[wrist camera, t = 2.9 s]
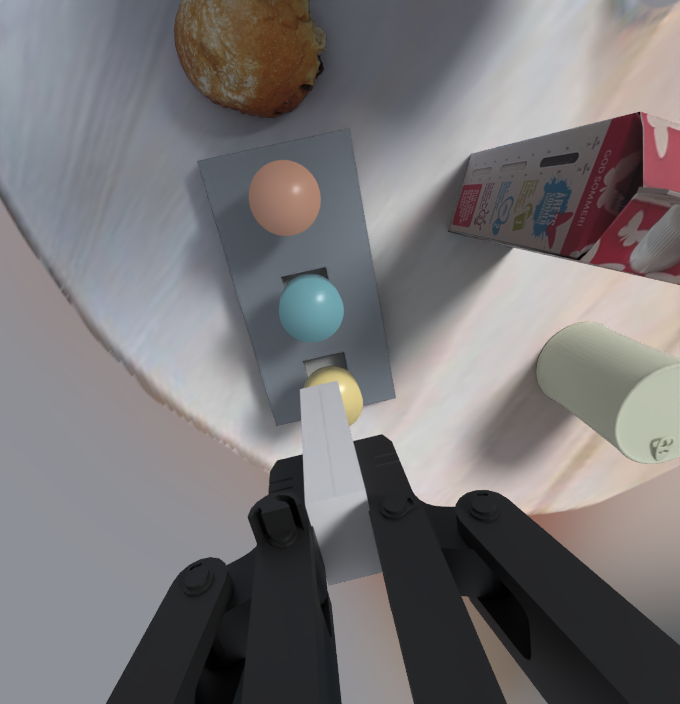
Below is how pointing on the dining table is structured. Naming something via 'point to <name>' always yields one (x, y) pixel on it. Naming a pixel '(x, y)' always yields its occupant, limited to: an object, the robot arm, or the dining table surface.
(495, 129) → the dining table surface
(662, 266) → the juice carton
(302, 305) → the teal button
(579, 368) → the can
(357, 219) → the button board
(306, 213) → the terracotta button
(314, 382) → the mustard button
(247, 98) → the bread roll
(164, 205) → the dining table surface
